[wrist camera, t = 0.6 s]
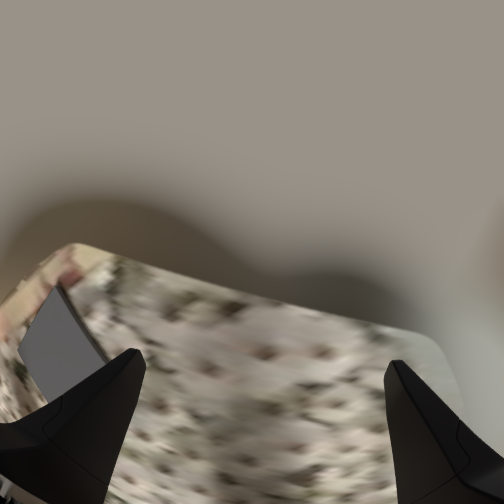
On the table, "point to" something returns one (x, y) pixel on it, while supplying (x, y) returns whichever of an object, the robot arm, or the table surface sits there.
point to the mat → (59, 348)
